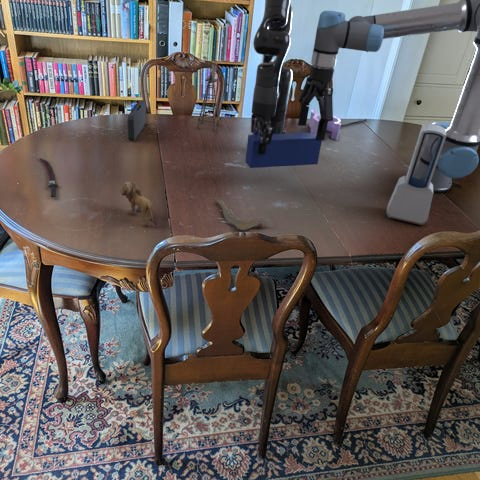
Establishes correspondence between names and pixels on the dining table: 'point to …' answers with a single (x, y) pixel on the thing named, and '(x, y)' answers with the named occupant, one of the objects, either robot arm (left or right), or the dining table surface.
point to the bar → (284, 150)
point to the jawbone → (237, 221)
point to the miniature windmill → (210, 80)
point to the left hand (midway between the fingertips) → (258, 150)
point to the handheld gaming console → (136, 120)
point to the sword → (52, 181)
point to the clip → (331, 126)
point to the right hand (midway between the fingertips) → (310, 132)
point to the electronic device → (416, 183)
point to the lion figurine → (137, 201)
